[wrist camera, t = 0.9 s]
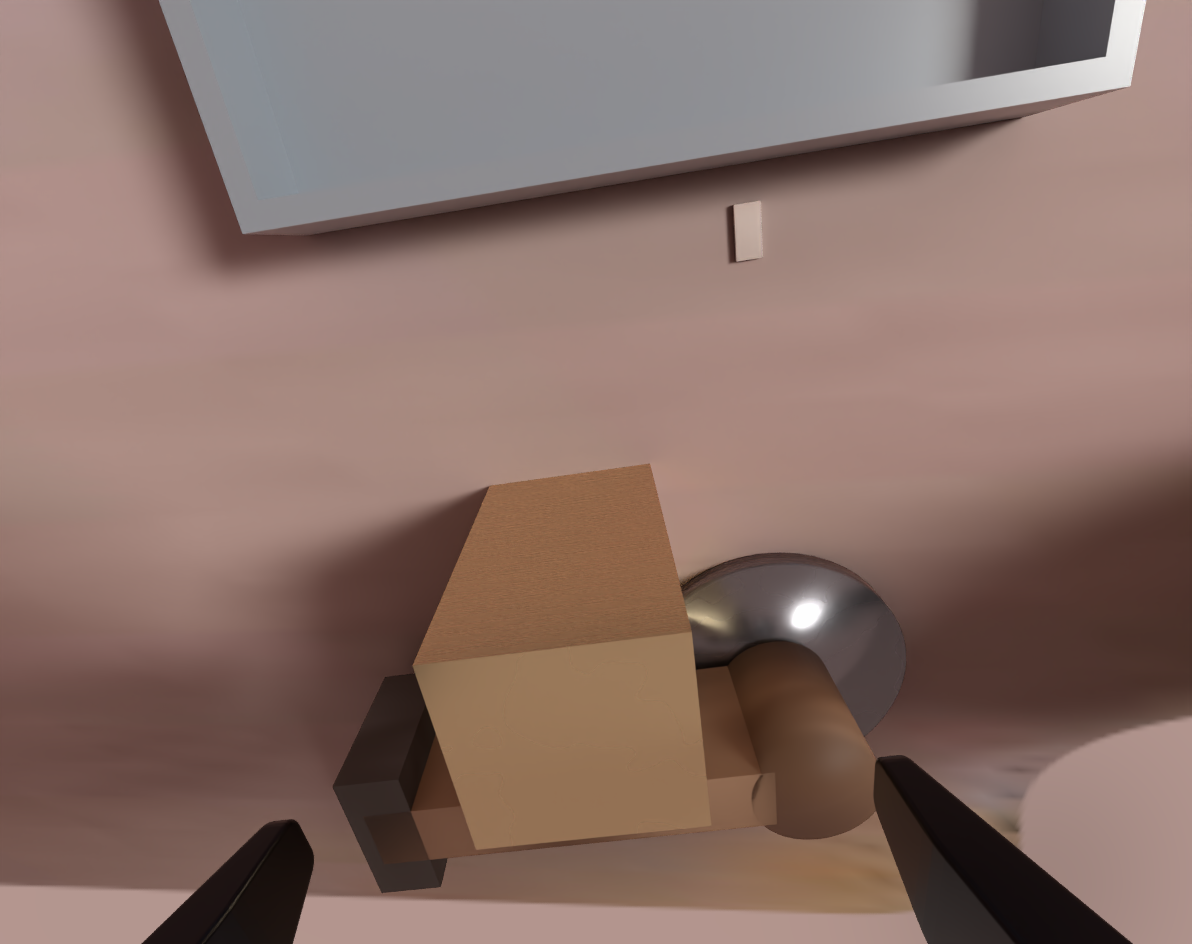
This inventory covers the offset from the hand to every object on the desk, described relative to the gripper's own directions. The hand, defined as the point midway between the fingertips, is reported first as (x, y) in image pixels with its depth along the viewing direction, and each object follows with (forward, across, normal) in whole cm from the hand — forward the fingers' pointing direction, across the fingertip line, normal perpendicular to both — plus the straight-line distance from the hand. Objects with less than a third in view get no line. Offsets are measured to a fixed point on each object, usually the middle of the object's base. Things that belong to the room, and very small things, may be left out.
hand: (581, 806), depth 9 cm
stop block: (+8, 0, 0) cm, 8 cm away
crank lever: (+7, 0, +5) cm, 9 cm away
